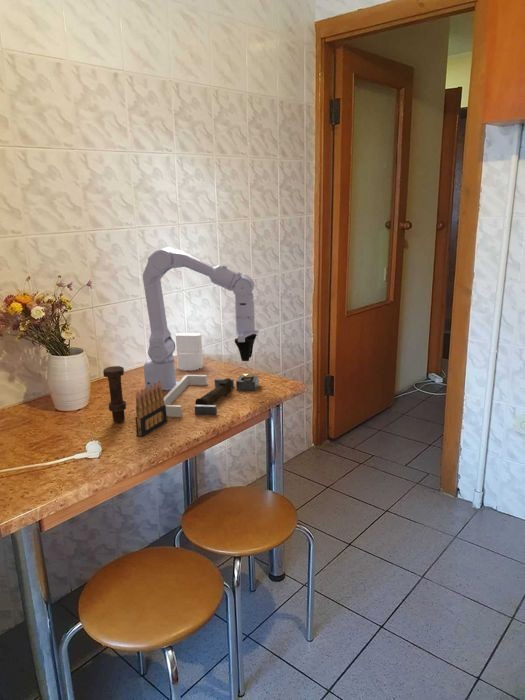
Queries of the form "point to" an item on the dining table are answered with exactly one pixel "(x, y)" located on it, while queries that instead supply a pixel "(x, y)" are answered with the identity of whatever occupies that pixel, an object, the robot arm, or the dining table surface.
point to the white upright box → (189, 351)
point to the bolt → (116, 392)
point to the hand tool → (216, 393)
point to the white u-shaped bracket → (176, 391)
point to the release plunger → (247, 376)
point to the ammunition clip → (150, 410)
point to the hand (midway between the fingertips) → (246, 359)
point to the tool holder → (240, 386)
